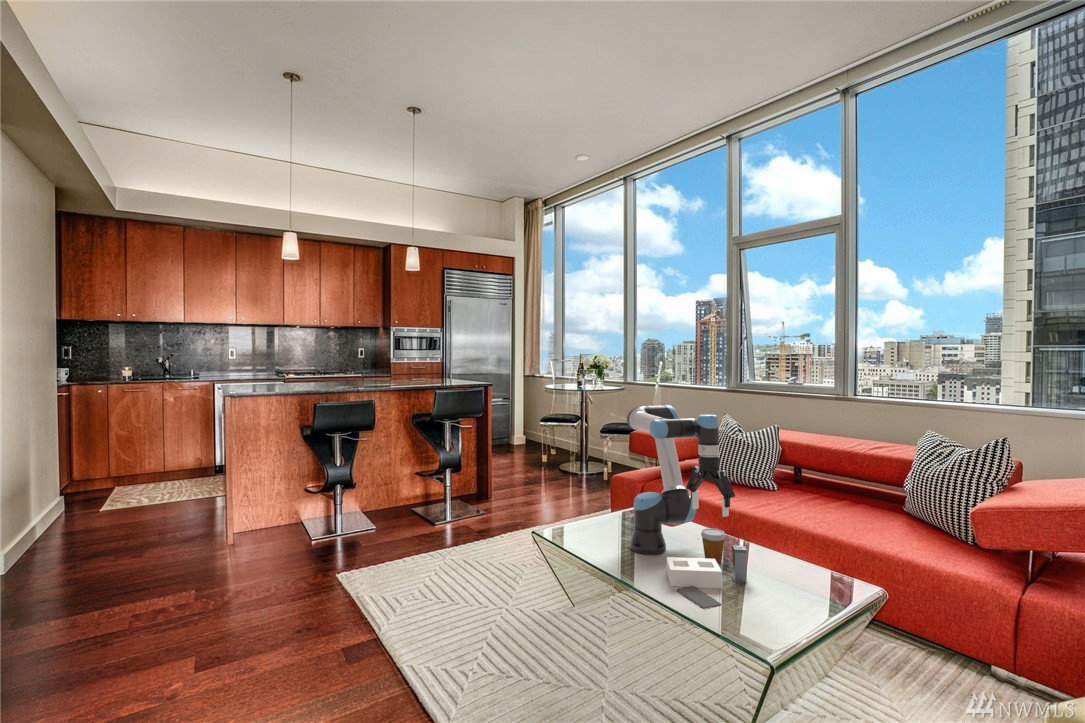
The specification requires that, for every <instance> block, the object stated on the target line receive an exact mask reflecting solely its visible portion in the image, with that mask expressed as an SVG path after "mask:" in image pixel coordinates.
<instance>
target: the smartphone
mask: <svg viewBox="0 0 1085 723" xmlns="http://www.w3.org/2000/svg"><path fill="white" fill-rule="evenodd" d="M676 591H677V593H679V594H680V595H681V596H682V597H684V598H686V599H688V600H689V601H690V600H691V602H692V601H693V602H694V603H693V602H692V603H693V604H695V605H696V604H697V606H698V605H699V606H700V608H701V607H702V608H708V609H710V608H709V607H712V608H716V607H721V606H722V603H721V602H719V601H717V600H716V599H715V598H713V597H712V596H710V595H708V594H707V593H706V592H704V591H702V589H701V590H700V589H699V587H695V586H689V587H680V588H679V587H678V588H677V589H676ZM699 606H698V607H699ZM702 608H701V609H702Z"/></svg>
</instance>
